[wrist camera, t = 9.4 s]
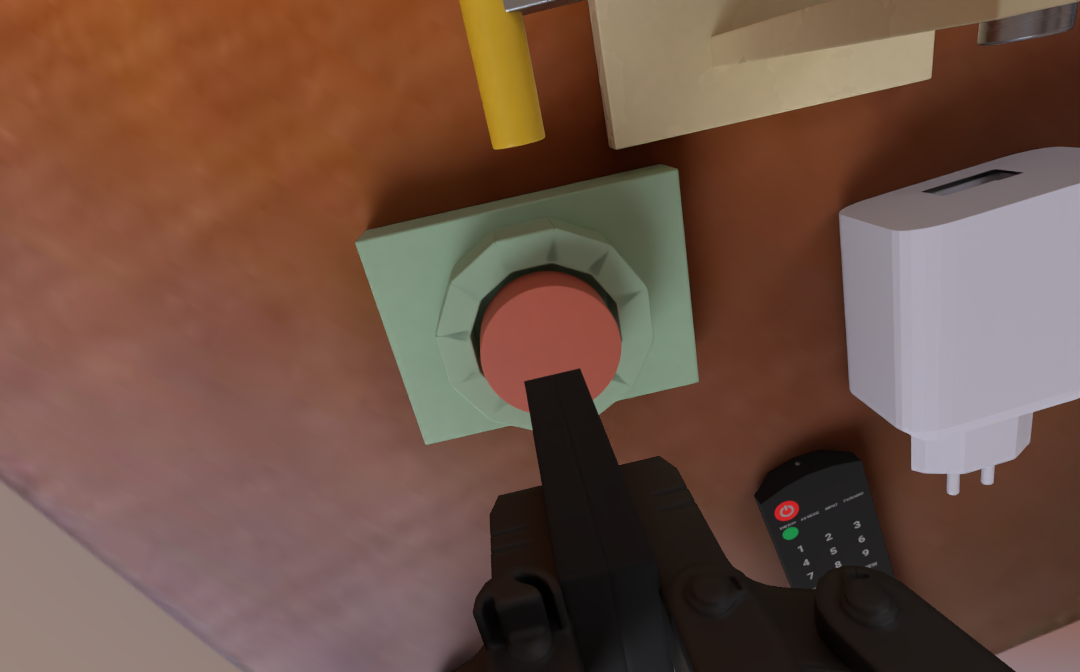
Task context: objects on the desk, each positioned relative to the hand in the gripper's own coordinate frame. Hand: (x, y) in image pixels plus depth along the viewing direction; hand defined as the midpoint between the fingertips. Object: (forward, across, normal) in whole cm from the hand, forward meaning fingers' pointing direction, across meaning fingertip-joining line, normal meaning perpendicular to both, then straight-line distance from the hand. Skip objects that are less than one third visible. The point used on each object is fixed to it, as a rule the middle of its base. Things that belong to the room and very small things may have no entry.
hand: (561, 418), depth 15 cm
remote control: (+10, +14, -23) cm, 29 cm away
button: (+6, 0, 0) cm, 6 cm away
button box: (+10, 0, 0) cm, 10 cm away
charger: (+10, +18, -6) cm, 21 cm away
